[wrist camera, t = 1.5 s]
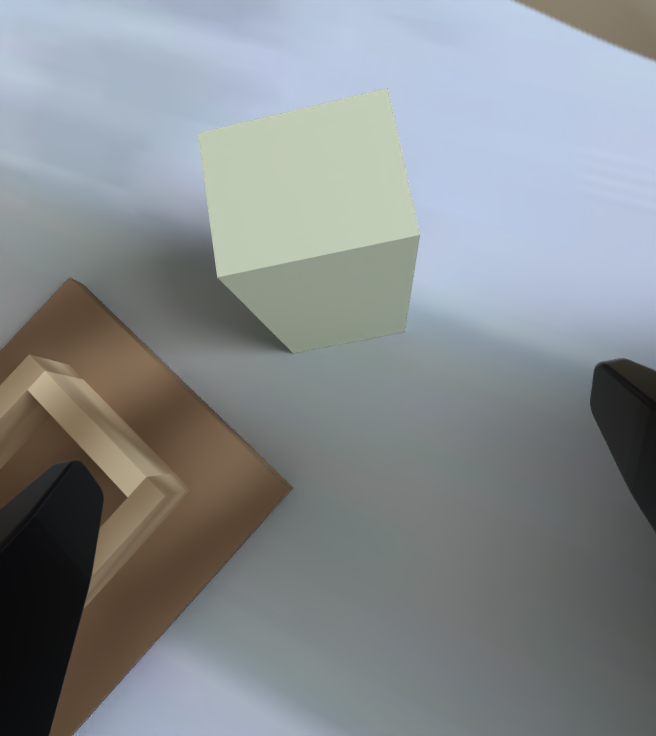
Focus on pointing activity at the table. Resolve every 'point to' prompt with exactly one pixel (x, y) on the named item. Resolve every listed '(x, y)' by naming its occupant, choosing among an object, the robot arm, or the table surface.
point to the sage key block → (315, 220)
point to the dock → (126, 479)
